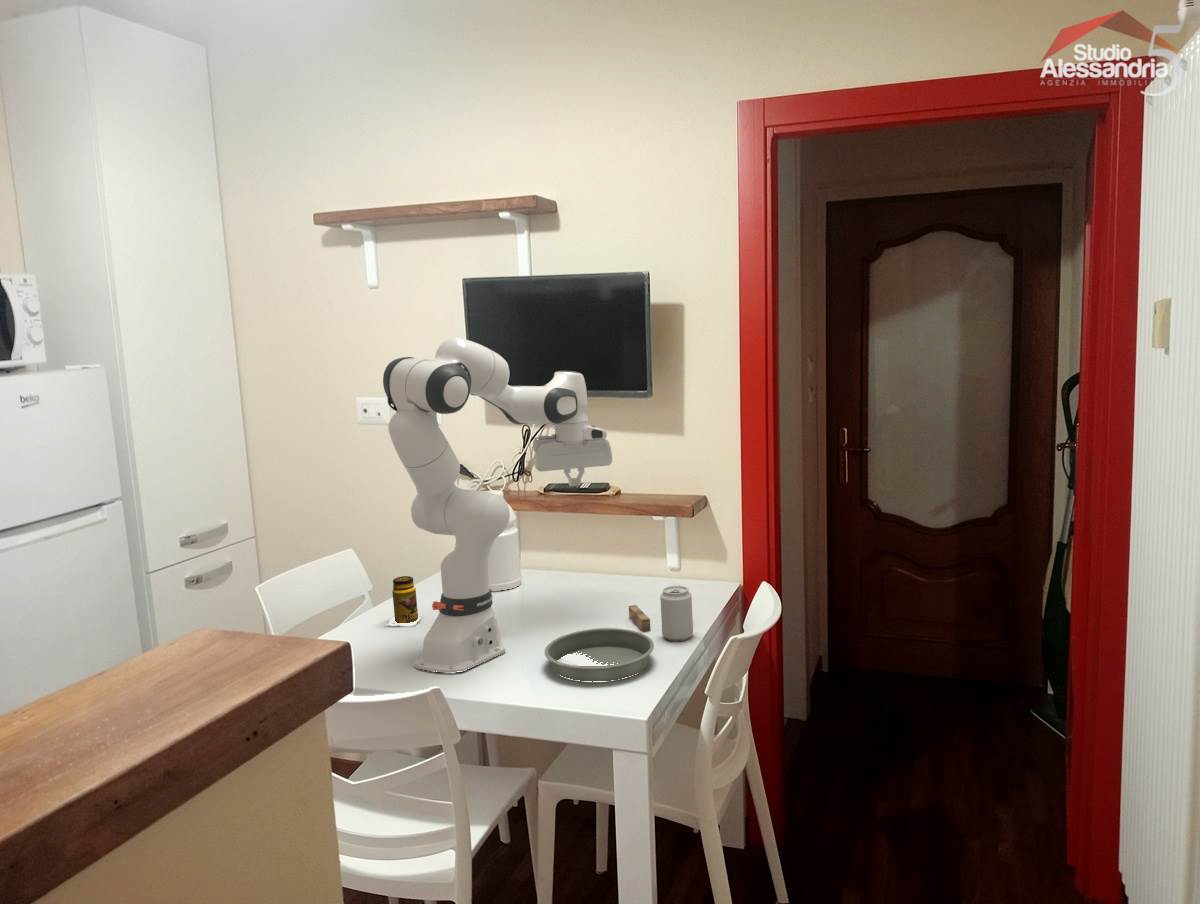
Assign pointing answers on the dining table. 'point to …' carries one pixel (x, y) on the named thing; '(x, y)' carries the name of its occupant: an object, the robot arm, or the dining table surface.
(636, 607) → the parallel wooden bars
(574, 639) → the cake pan
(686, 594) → the can
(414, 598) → the condiment
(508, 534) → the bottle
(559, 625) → the dining table surface
